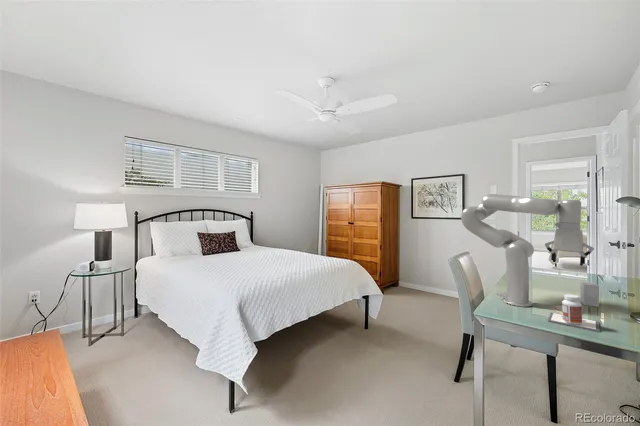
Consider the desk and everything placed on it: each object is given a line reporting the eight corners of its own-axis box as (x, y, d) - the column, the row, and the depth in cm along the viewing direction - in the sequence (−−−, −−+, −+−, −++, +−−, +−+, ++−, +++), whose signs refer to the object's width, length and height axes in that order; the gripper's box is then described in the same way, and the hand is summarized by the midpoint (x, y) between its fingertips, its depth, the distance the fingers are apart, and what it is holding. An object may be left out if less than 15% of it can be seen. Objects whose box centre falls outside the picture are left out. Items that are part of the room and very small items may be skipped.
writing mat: (547, 321, 125) (547, 319, 125) (550, 313, 134) (550, 311, 134) (599, 332, 114) (599, 330, 114) (598, 322, 123) (598, 320, 123)
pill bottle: (584, 322, 121) (583, 296, 121) (579, 326, 118) (578, 299, 117) (565, 318, 126) (565, 292, 126) (560, 321, 123) (559, 295, 123)
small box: (598, 307, 143) (599, 286, 143) (583, 305, 146) (583, 284, 145) (594, 302, 149) (594, 282, 149) (580, 301, 152) (580, 281, 152)
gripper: (544, 225, 137) (542, 261, 138) (594, 228, 124) (592, 268, 125) (547, 225, 142) (545, 259, 143) (595, 227, 129) (593, 265, 130)
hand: (567, 263), depth 134 cm, fingers open, 9 cm apart
